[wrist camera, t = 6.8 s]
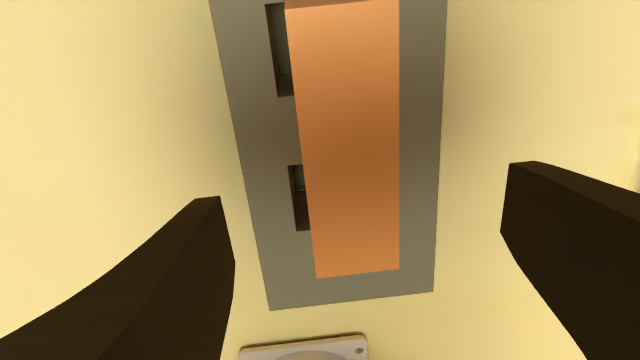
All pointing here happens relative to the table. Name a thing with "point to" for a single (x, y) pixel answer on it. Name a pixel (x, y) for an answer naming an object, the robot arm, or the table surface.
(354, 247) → the orange c-shaped bracket
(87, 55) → the table surface
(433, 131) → the socket rail
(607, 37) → the table surface
